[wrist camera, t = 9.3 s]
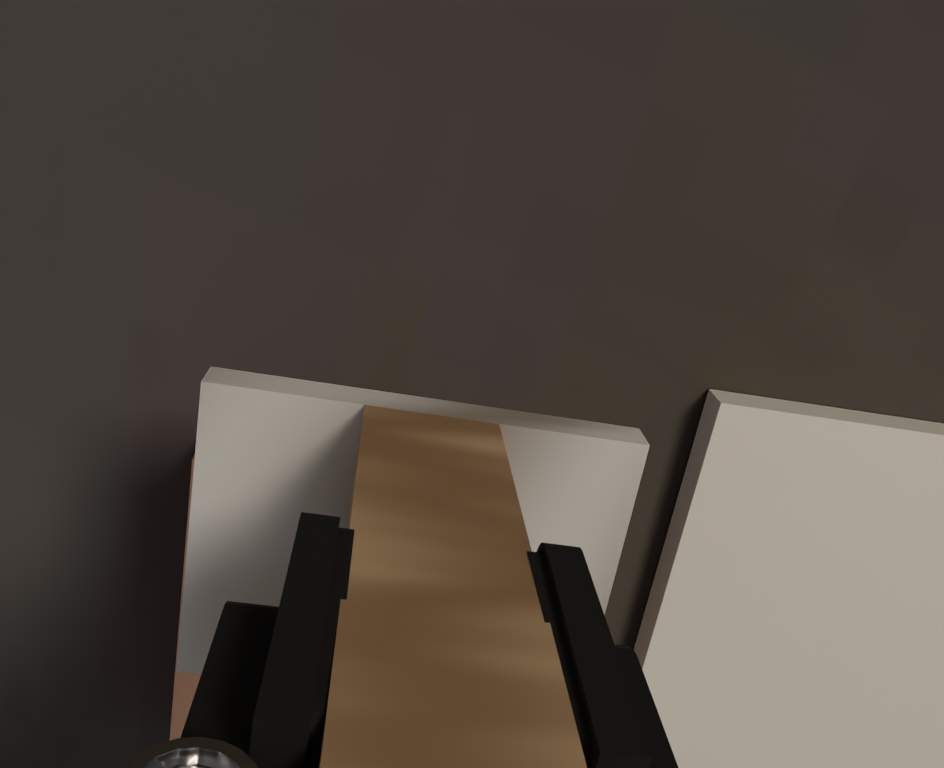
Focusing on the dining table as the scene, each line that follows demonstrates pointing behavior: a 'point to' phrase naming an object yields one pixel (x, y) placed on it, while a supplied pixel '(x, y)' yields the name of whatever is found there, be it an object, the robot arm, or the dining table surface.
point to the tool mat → (802, 591)
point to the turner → (410, 556)
